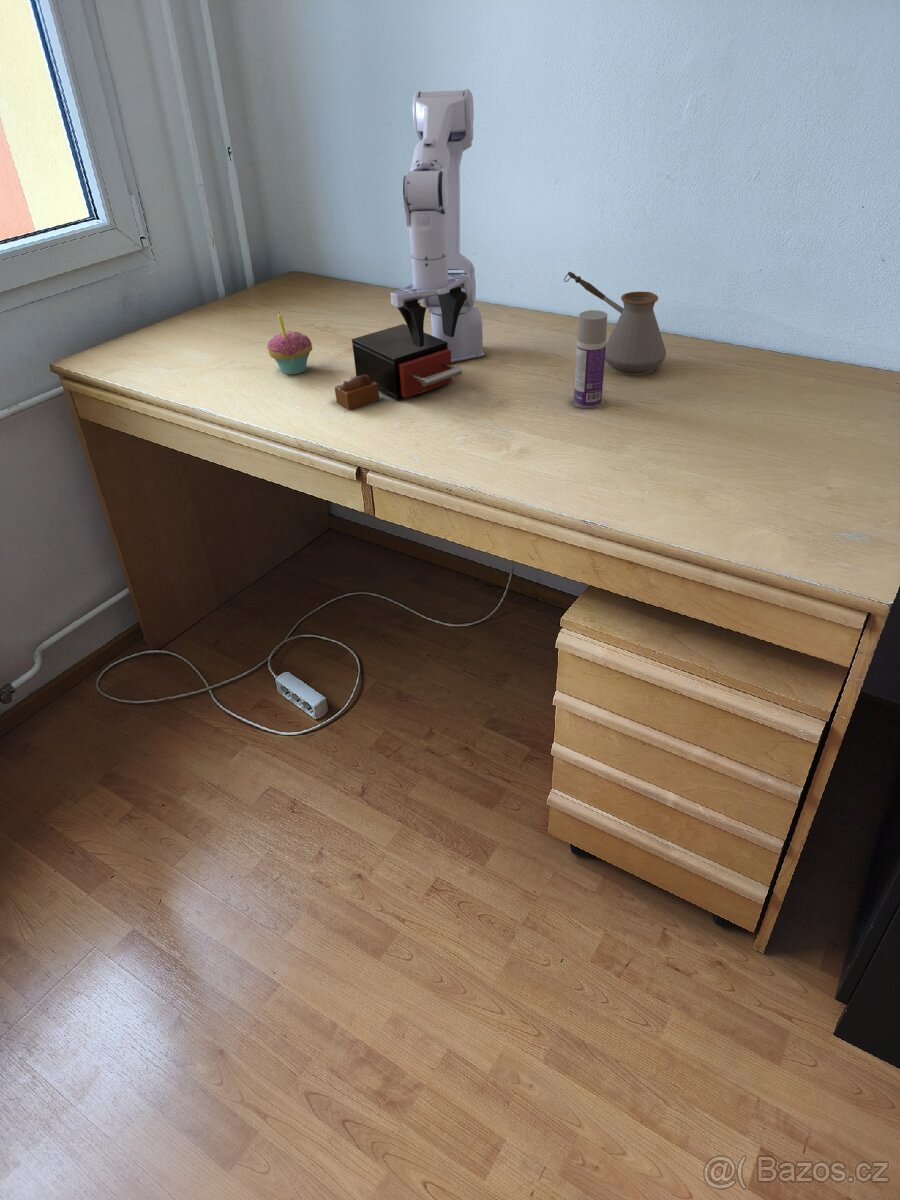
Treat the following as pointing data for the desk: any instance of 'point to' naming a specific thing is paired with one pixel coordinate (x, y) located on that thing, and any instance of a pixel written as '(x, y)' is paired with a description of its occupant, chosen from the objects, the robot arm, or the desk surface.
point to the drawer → (426, 372)
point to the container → (590, 359)
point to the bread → (357, 392)
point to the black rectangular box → (389, 355)
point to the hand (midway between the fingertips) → (433, 340)
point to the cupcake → (290, 350)
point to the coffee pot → (632, 332)
